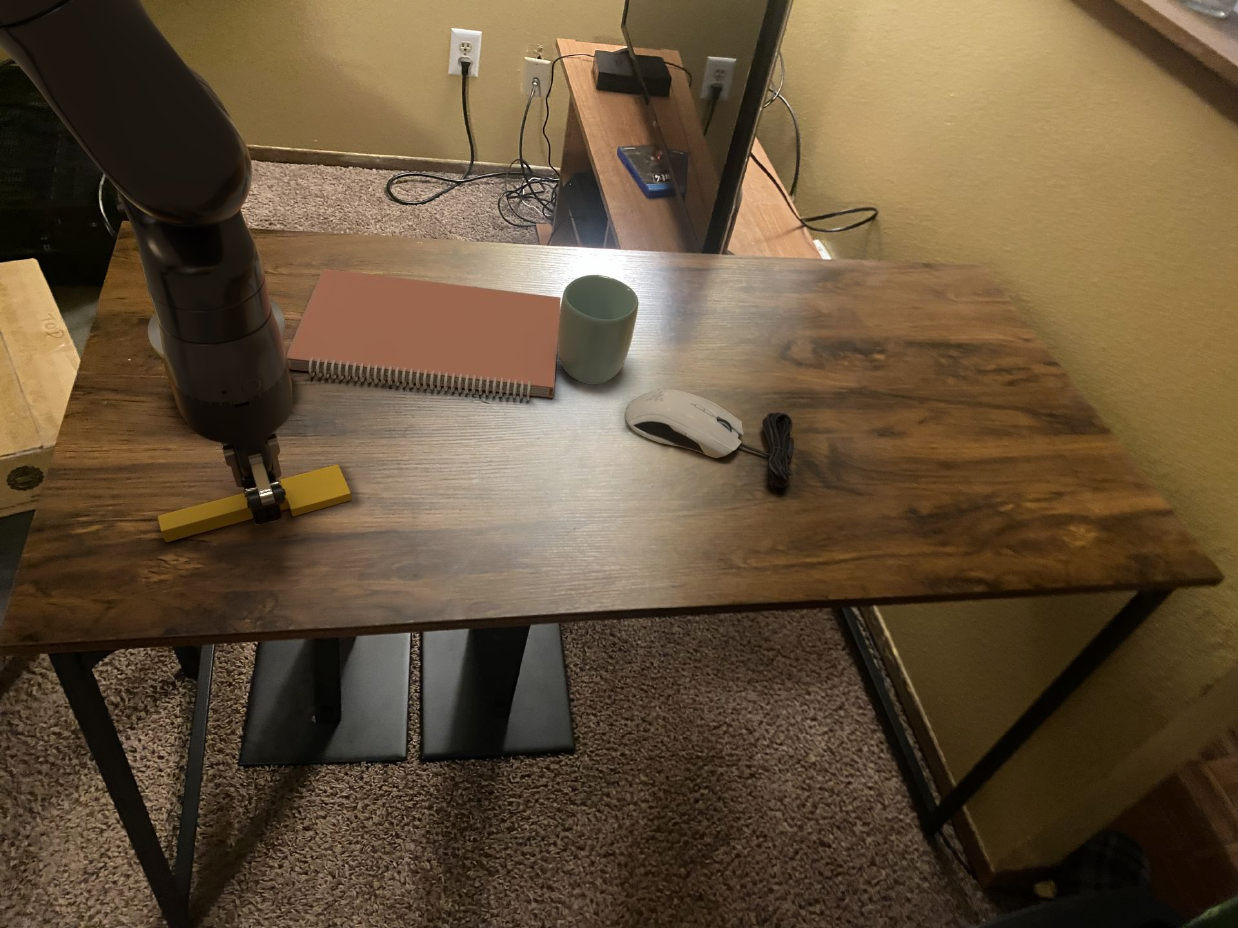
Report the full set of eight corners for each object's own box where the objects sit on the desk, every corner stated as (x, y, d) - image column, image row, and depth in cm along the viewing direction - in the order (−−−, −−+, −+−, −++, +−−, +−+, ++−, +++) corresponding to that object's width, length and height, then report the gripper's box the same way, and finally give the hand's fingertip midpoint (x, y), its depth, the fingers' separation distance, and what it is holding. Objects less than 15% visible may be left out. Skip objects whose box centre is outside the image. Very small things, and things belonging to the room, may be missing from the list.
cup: (637, 369, 94) (652, 296, 87) (599, 405, 89) (612, 331, 82) (580, 338, 96) (591, 265, 89) (540, 372, 91) (548, 297, 84)
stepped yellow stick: (167, 551, 69) (163, 540, 68) (159, 518, 71) (154, 506, 70) (351, 500, 76) (350, 488, 74) (339, 471, 78) (337, 459, 76)
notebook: (284, 377, 85) (282, 362, 83) (324, 281, 96) (322, 266, 95) (551, 406, 88) (553, 392, 86) (559, 309, 99) (560, 295, 98)
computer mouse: (635, 386, 92) (641, 358, 89) (795, 433, 91) (807, 406, 88) (611, 446, 85) (617, 418, 82) (784, 498, 84) (796, 471, 81)
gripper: (154, 317, 61) (205, 474, 74) (188, 438, 54) (238, 590, 66) (261, 299, 64) (292, 453, 77) (307, 411, 57) (333, 561, 70)
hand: (267, 516), depth 72 cm, fingers closed
